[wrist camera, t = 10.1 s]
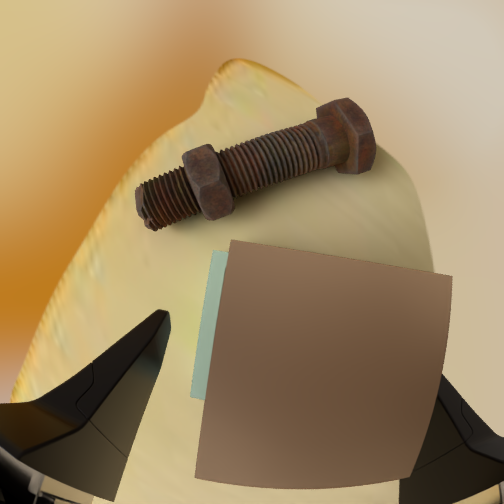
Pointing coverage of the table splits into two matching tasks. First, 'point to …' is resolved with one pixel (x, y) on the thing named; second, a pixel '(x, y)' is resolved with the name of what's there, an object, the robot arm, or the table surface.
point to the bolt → (258, 165)
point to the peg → (320, 370)
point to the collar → (208, 324)
